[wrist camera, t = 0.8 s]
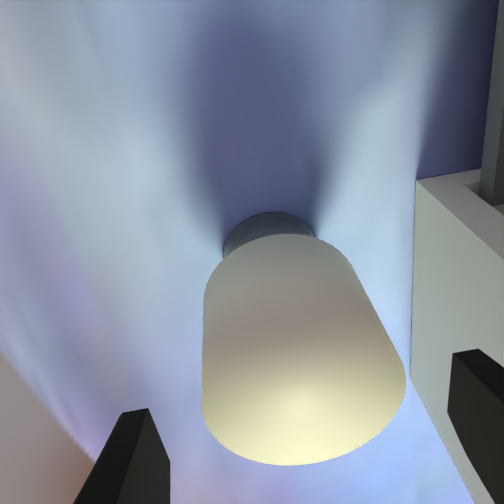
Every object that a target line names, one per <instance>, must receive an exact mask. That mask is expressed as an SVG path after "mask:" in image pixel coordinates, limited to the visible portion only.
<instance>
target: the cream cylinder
mask: <svg viewBox="0 0 504 504" xmlns="http://www.w3.org/2000/svg"><path fill="white" fill-rule="evenodd" d="M405 386H406V377H405V371H404V367H403V363H402V361H401V359H400V357H399V355H398V353H397V351H396V350H395V348H394V346H393V344H392V342H391V340H390V338H389V336H388V334H387V332H386V330H385V328H384V327H383V325H382V323H381V321H380V319H379V317H378V315H377V313H376V311H375V309H374V307H373V305H372V303H371V302H370V300H369V298H368V296H367V294H366V292H365V290H364V288H363V286H362V284H361V282H360V280H359V279H358V277H357V275H356V273H355V271H354V269H353V267H352V265H351V264H350V262H349V261H348V259H347V258H346V257H345V256H344V255H343V254H342V253H341V252H340V251H339V250H337V249H336V248H335V247H333V246H332V245H330V244H328V243H327V242H325V241H323V240H320V239H317V238H315V237H311V236H307V235H301V234H276V235H269V236H265V237H261V238H258V239H255V240H253V241H250V242H248V243H246V244H244V245H242V246H240V247H238V248H237V249H235V250H234V251H232V252H231V253H230V254H229V255H228V256H226V257H225V258H224V259H223V260H222V261H221V262H220V263H219V265H218V266H217V267H216V268H215V270H214V271H213V273H212V274H211V276H210V278H209V280H208V282H207V285H206V289H205V293H204V300H203V347H202V397H201V402H202V413H203V417H204V420H205V423H206V425H207V427H208V429H209V430H210V432H211V433H212V435H213V436H214V437H215V438H216V439H217V440H218V441H219V442H220V443H221V444H222V445H223V446H225V447H226V448H227V449H229V450H231V451H232V452H234V453H236V454H238V455H240V456H242V457H244V458H247V459H250V460H253V461H257V462H261V463H266V464H274V465H304V464H311V463H317V462H321V461H326V460H329V459H332V458H336V457H339V456H341V455H344V454H346V453H349V452H351V451H353V450H355V449H357V448H359V447H360V446H362V445H363V444H365V443H367V442H368V441H370V440H371V439H372V438H374V437H375V436H376V435H377V434H379V433H380V432H381V431H382V430H383V429H384V428H385V427H386V426H387V425H388V423H389V422H390V421H391V420H392V419H393V417H394V416H395V414H396V413H397V411H398V409H399V407H400V405H401V403H402V400H403V397H404V393H405Z"/></svg>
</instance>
